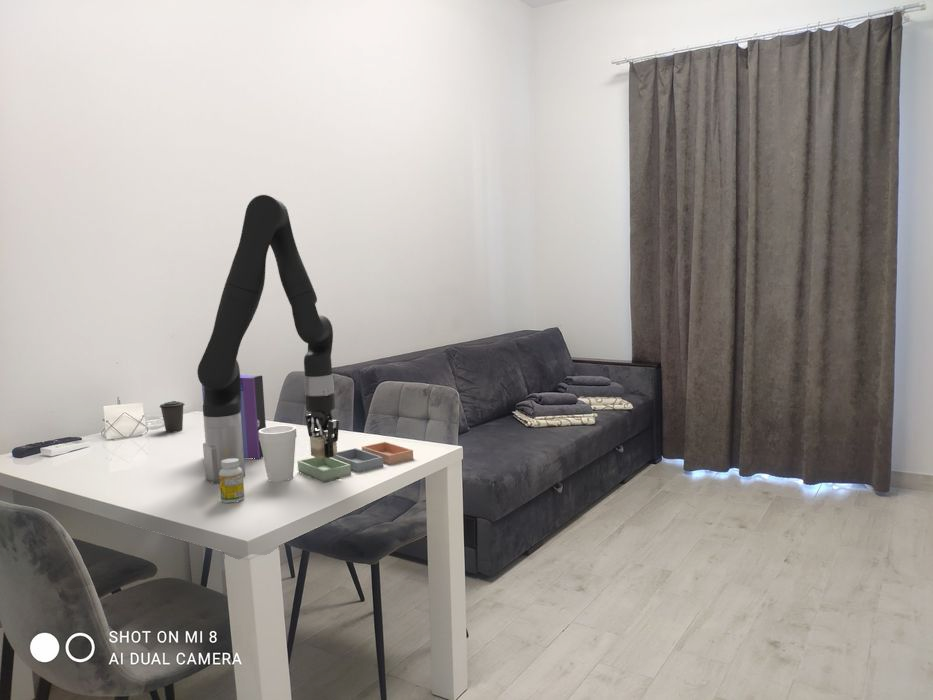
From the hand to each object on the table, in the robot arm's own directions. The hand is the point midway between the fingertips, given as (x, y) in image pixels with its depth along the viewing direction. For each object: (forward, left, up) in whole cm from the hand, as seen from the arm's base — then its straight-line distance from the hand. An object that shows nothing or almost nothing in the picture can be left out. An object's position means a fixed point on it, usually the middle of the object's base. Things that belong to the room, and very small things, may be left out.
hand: (324, 455), depth 185 cm
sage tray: (0, 0, -5) cm, 5 cm away
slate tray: (+10, 0, -5) cm, 11 cm away
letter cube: (0, 0, 0) cm, 0 cm away
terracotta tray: (+20, 0, -5) cm, 20 cm away
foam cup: (-10, +5, -5) cm, 13 cm away
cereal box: (-9, +36, -5) cm, 38 cm away
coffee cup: (-11, +87, -5) cm, 88 cm away
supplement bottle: (-26, -3, -5) cm, 27 cm away
